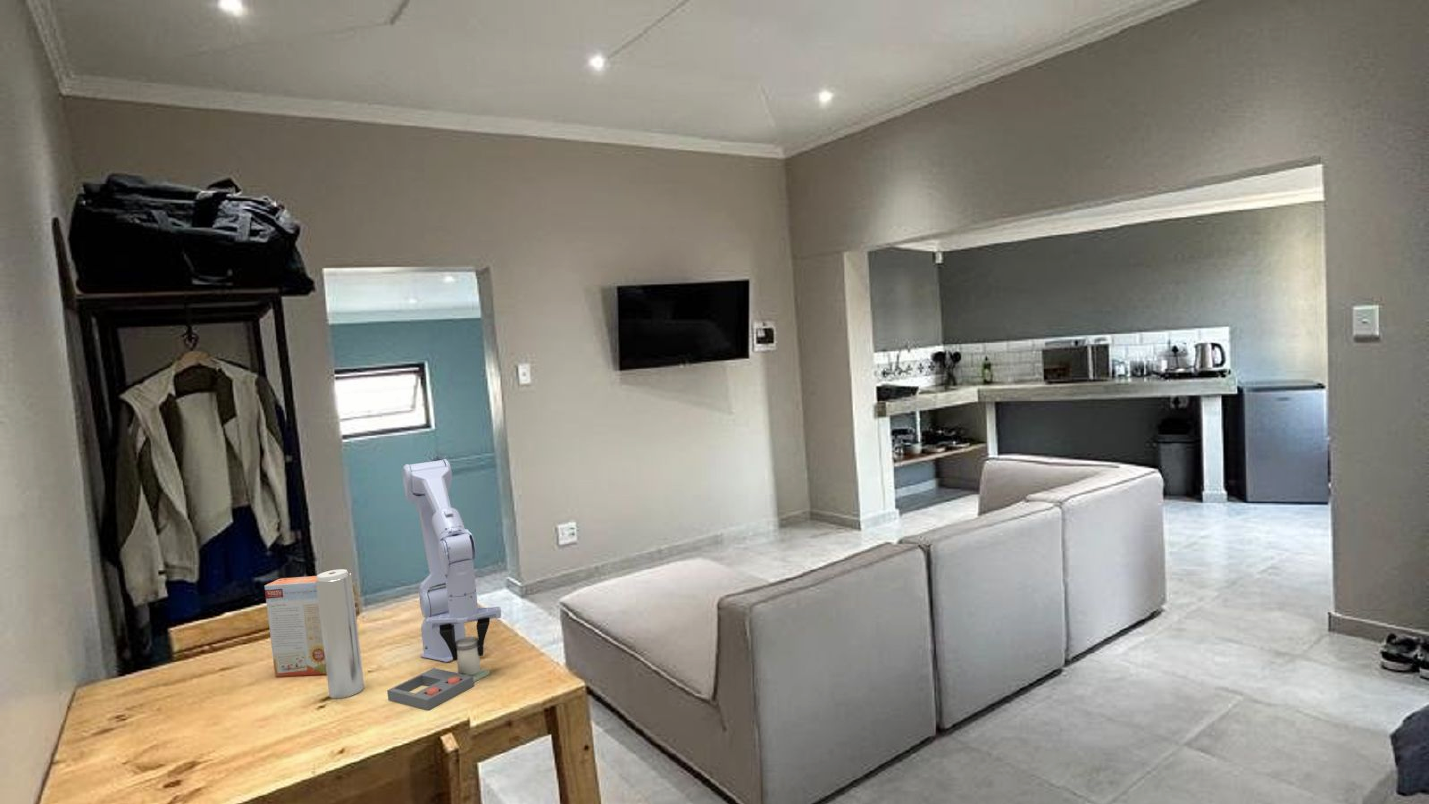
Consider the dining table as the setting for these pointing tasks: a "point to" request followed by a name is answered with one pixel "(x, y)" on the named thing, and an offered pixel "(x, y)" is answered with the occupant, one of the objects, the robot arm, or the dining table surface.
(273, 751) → the dining table surface
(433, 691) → the plunger near
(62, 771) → the dining table surface
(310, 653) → the cracker box
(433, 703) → the tray
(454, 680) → the plunger far
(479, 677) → the pad
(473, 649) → the cylinder
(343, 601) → the aluminum foil roll
